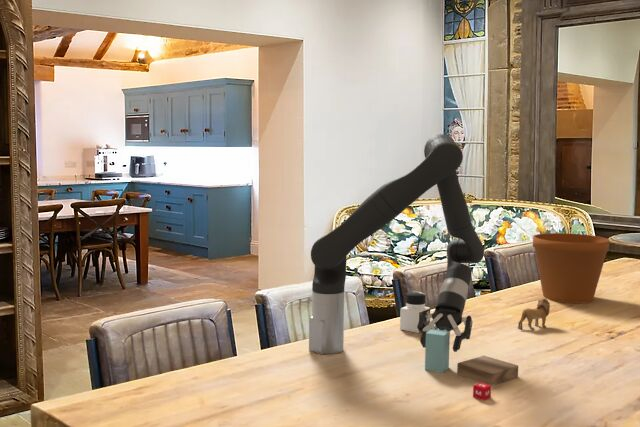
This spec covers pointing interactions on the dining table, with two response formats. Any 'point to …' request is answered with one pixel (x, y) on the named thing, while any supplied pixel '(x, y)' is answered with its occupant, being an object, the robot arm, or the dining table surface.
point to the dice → (482, 391)
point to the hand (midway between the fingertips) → (438, 348)
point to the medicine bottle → (413, 311)
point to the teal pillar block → (437, 350)
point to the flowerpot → (570, 265)
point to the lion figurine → (536, 313)
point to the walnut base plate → (487, 370)
